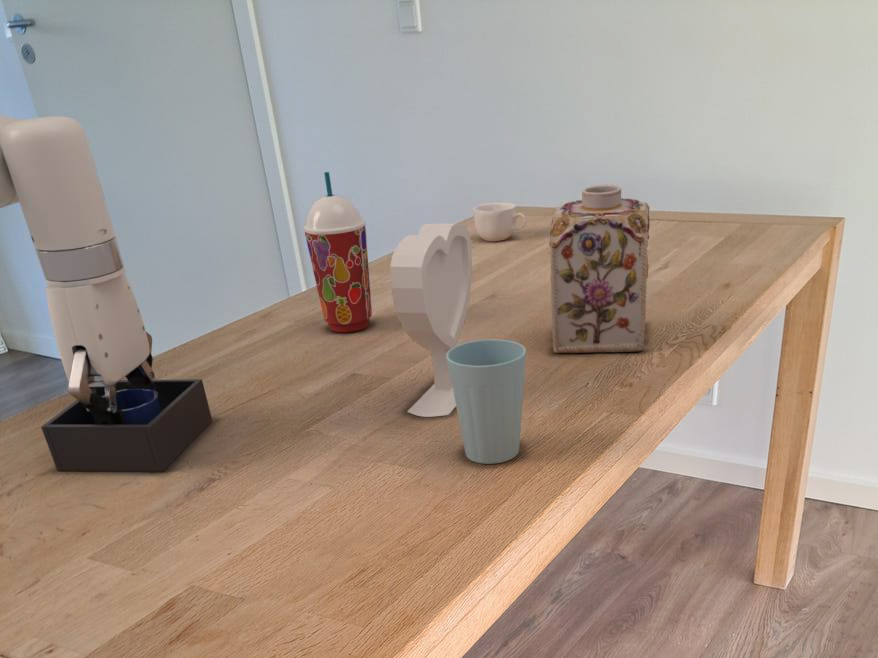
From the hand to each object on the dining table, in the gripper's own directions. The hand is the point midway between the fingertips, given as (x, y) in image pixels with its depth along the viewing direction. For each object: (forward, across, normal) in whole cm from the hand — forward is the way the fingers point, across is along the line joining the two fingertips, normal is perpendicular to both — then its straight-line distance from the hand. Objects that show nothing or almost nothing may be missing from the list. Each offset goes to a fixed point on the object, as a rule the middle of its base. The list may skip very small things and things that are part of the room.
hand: (134, 430), depth 101 cm
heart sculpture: (+2, -14, +32) cm, 35 cm away
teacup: (+2, -90, +28) cm, 95 cm away
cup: (+2, +2, +40) cm, 40 cm away
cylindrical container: (+1, 0, 0) cm, 1 cm away
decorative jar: (+2, -34, +49) cm, 59 cm away
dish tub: (+2, 0, 0) cm, 2 cm away
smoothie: (+2, -40, +13) cm, 43 cm away
